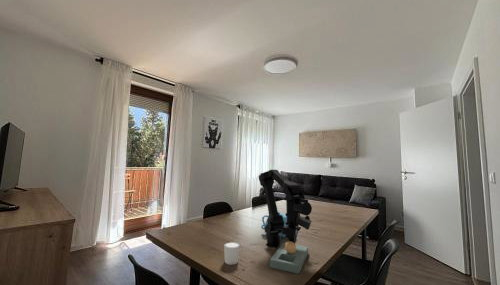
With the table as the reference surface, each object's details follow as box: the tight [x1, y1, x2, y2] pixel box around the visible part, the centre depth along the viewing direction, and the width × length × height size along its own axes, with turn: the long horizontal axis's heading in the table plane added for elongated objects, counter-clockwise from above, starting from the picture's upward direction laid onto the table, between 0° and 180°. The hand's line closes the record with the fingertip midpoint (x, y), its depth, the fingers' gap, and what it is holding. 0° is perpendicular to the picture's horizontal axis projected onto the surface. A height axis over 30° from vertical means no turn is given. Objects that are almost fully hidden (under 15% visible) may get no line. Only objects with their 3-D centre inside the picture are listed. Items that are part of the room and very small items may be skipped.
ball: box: [285, 240, 297, 254], centre depth 96 cm, size 5×5×5 cm
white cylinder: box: [223, 241, 241, 266], centre depth 93 cm, size 7×7×7 cm
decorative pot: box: [260, 211, 288, 238], centre depth 131 cm, size 16×16×14 cm
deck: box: [269, 242, 309, 275], centre depth 96 cm, size 12×22×3 cm, turn 156°
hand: (293, 244), depth 100 cm, fingers open, 4 cm apart
